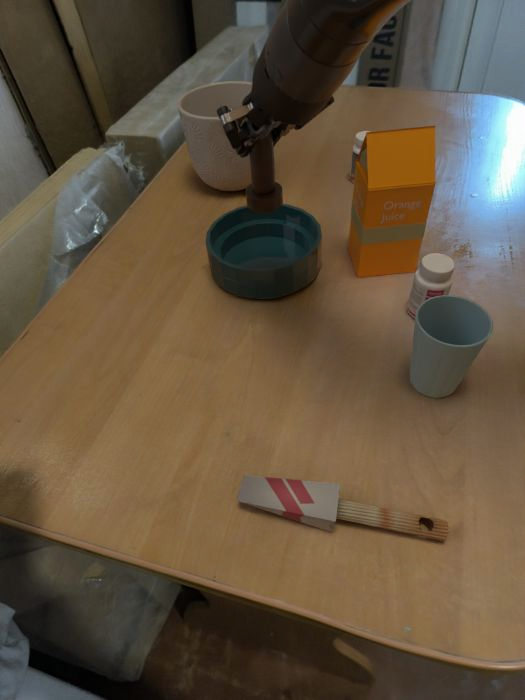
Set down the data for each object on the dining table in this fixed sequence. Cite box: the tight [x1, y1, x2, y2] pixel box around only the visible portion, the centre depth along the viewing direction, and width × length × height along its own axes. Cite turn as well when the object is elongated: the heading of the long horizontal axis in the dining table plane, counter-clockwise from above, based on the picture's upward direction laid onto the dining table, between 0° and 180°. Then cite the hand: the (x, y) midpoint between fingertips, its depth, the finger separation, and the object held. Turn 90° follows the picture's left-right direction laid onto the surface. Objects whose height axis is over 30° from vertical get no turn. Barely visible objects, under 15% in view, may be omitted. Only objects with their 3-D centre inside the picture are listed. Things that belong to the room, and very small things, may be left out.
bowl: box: [204, 203, 323, 300], centre depth 70 cm, size 17×17×6 cm
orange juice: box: [347, 125, 437, 278], centre depth 64 cm, size 8×9×20 cm
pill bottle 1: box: [349, 130, 373, 184], centre depth 85 cm, size 5×5×8 cm
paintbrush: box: [236, 474, 449, 542], centre depth 44 cm, size 4×3×20 cm
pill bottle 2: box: [406, 252, 456, 320], centre depth 60 cm, size 5×5×8 cm
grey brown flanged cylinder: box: [245, 129, 284, 213], centre depth 56 cm, size 5×5×11 cm
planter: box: [176, 80, 252, 192], centre depth 85 cm, size 17×17×15 cm
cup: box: [409, 294, 494, 399], centre depth 51 cm, size 8×8×10 cm
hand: (253, 145), depth 57 cm, fingers closed on grey brown flanged cylinder, 3 cm apart
